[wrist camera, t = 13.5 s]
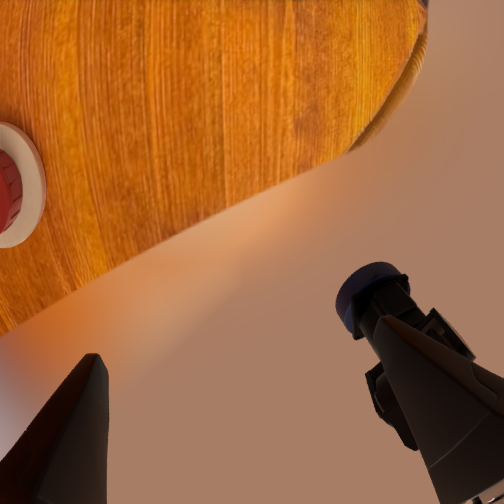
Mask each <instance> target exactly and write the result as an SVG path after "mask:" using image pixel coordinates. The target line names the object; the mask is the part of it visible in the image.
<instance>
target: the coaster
mask: <svg viewBox="0 0 504 504" xmlns="http://www.w3.org/2000/svg"><path fill="white" fill-rule="evenodd" d="M0 149H2V150H4V151H5V152H6V153H7V154H8V155H9V156H10V157H11V158H12V160H13V161H14V162H15V164H16V166H17V168H18V171H19V174H20V177H21V181H22V189H23V198H22V204H21V209H20V213H19V214H18V216H17V217H16V219H15V220H14V221H13V224H12V225H11V226H10V227H9V228H8V229H7V230H6V231H5V232H4V231H3V232H2V233H1V234H0V248H9V247H13V246H16V245H18V244H20V243H21V242H23V241H24V240H25V239H26V238H27V237H29V235H30V234H31V233H32V232H33V231H34V229H35V228H36V227H37V225H38V223H39V222H40V219H41V217H42V215H43V211H44V207H45V202H46V177H45V171H44V167H43V163H42V160H41V157H40V155H39V153H38V151H37V149H36V147H35V145H34V144H33V142H32V141H31V139H30V138H29V137H28V136H27V135H26V134H25V133H24V132H23V131H22V130H21V129H19V128H18V127H16V126H14V125H12V124H10V123H6V122H0Z"/></svg>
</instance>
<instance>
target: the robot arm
mask: <svg viewBox="0 0 504 504" xmlns="http://www.w3.org/2000/svg"><path fill="white" fill-rule="evenodd" d="M408 280H409V277H408V276H407V275H406V274H401V275H399V276H397V277H394V278H392V279H390V280H387V281H385V282H383V283H380V284H378V285H376V286H373V287H371V288H368V289H366V290H364V291H361V292H359V293H356V294H354V295H353V296H352V297H351V316H352V337H353V339H354V340H359V339H362V338H364V337H366V338H367V340H368V342H369V343H370V345H371V346H372V348H373V350H374V351H375V353H376V354H377V356H378V358H379V359H380V362H379V363H378V364H377V365H376V366H375V367H374V368H373V369H371V370H369V371H368V372H367V373H365V376H366V380H367V384H368V387H369V391H370V394H371V397H372V400H373V404H374V407H375V410H376V412H377V413H378V416H379V417H380V418H381V419H383V420H384V421H385V422H386V423H387V424H389V425H390V426H392V427H394V428H395V429H396V431H397V433H398V435H399V436H400V438H401V440H402V442H403V443H404V445H405V446H406V447H408V448H410V449H412V450H414V451H417V450H420V452H421V455H422V457H423V460H424V462H425V465H426V467H427V469H428V473H429V475H430V478H431V480H432V483H433V486H434V488H435V491H436V494H437V496H438V499H439V502H440V504H464V503H466V502H468V501H470V500H472V501H473V504H504V378H502V377H500V376H498V375H496V374H494V373H492V372H490V371H488V370H486V369H484V368H483V367H481V366H479V365H477V364H476V363H474V362H473V361H474V360H475V359H476V356H475V355H474V353H473V352H472V351H471V349H470V348H469V346H468V345H467V344H466V342H465V341H464V340H463V338H462V337H461V336H460V335H459V334H458V332H457V331H456V330H455V329H454V328H453V327H452V326H451V325H450V323H449V322H448V321H447V320H446V319H445V318H444V317H443V316H442V315H441V314H440V313H439V312H438V311H437V310H436V309H435V308H432V309H431V310H430V313H429V314H428V315H427V316H425V314H424V313H423V312H422V311H421V310H420V309H419V308H418V306H417V304H416V303H415V301H414V300H413V299H412V298H411V297H410V296H409V295H408V294H407V292H408ZM355 299H356V300H355ZM108 430H109V375H108V371H107V368H106V367H105V365H104V363H103V361H102V359H101V357H100V355H99V354H97V353H89V354H86V355H85V356H84V357H83V358H82V359H81V360H80V362H79V363H78V364H77V365H76V366H75V368H74V369H73V370H72V371H71V372H70V374H69V375H68V376H67V378H66V379H65V380H64V381H63V382H62V384H61V385H60V386H59V387H58V389H57V390H56V391H55V392H54V394H53V395H52V396H51V397H50V399H49V400H48V401H47V402H46V404H45V405H44V406H43V408H42V409H41V410H40V412H39V413H38V414H37V416H36V417H35V418H34V419H33V421H32V422H31V423H30V425H29V426H28V427H27V431H24V433H23V434H22V435H21V437H20V438H19V439H18V441H17V442H16V443H15V445H14V446H13V447H12V449H11V450H10V451H9V452H8V453H7V454H6V456H5V457H4V458H3V459H2V460H1V462H0V504H107V448H108V447H107V446H108Z"/></svg>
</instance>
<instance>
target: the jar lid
mask: <svg viewBox="0 0 504 504" xmlns="http://www.w3.org/2000/svg"><path fill="white" fill-rule="evenodd" d="M22 198H23V189H22V181H21V177H20V174H19V171H18V168H17V166H16V164H15V162H14V161H13V160H12V158H11V157H10V156H9V155H8V154H7V153H6V152H5V151H4V150H2V149H0V234H1V233H2V232H3V231H4V232H5V231H6V230H7V229H8V228H9V227H10V226H11V225H12V224H13V221H14V220H15V219H16V217H17V216H18V214H19V213H20V209H21V204H22Z"/></svg>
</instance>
